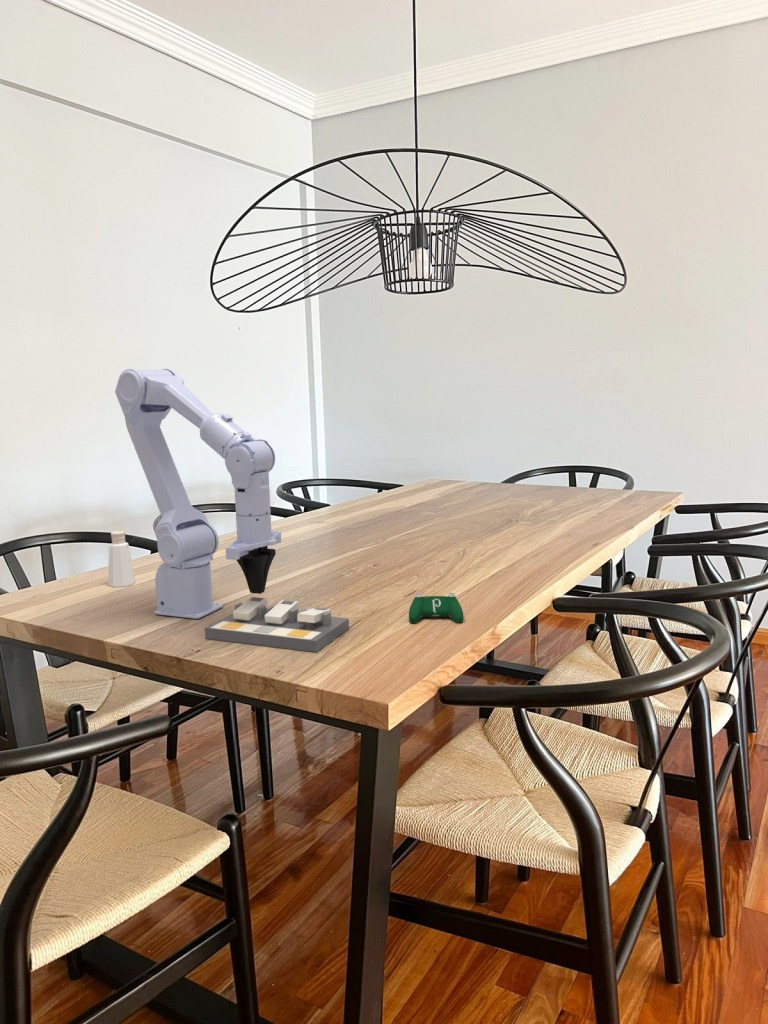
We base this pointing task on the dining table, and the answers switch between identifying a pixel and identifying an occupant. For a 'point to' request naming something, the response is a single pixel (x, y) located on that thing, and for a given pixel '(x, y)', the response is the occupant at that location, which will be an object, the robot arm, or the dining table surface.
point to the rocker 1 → (249, 608)
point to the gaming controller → (435, 607)
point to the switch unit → (279, 630)
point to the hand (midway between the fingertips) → (257, 592)
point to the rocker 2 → (281, 611)
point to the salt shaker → (120, 562)
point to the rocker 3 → (312, 615)
